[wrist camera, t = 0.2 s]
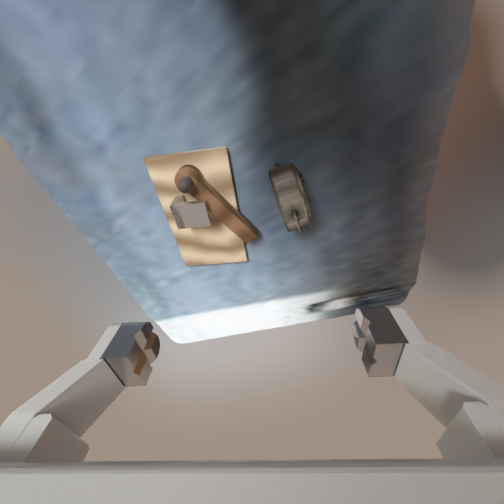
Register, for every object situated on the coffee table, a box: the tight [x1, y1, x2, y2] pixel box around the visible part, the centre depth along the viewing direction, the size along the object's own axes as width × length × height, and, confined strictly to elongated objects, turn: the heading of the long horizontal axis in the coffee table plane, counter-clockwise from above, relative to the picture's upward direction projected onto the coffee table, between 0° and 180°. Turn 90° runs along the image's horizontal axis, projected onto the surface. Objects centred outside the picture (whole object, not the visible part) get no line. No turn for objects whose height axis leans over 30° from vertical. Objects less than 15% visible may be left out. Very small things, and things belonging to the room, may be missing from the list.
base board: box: [144, 146, 247, 266], centre depth 51 cm, size 26×15×1 cm, turn 7°
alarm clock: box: [269, 163, 312, 233], centre depth 40 cm, size 11×5×16 cm, turn 21°
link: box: [174, 165, 257, 244], centre depth 46 cm, size 19×4×5 cm, turn 42°
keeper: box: [170, 195, 211, 229], centre depth 47 cm, size 5×6×4 cm
